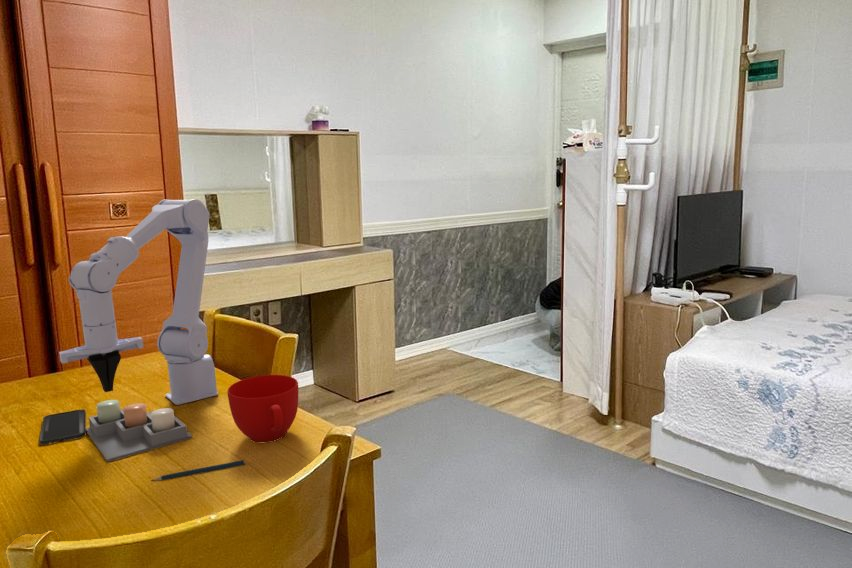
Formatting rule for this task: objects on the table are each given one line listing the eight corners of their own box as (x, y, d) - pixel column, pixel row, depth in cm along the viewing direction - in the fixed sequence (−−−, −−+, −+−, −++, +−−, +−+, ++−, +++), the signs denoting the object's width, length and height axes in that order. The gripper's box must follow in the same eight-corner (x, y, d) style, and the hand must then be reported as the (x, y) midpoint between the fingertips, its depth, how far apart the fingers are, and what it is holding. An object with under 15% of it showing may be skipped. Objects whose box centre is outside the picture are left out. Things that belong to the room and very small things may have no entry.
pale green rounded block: (118, 413, 133) (116, 398, 132) (123, 419, 129) (121, 403, 129) (96, 419, 130) (94, 403, 130) (101, 425, 127) (99, 408, 126)
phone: (85, 408, 141) (84, 433, 127) (86, 413, 141) (85, 438, 128) (43, 415, 137) (38, 442, 124) (43, 421, 137) (39, 447, 124)
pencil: (244, 466, 113) (151, 484, 108) (244, 464, 114) (151, 481, 109) (244, 461, 113) (150, 479, 108) (243, 459, 114) (150, 476, 109)
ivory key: (171, 422, 128) (169, 406, 127) (178, 428, 125) (176, 412, 124) (150, 428, 125) (148, 411, 125) (156, 434, 122) (154, 418, 122)
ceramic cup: (245, 465, 113) (240, 410, 111) (226, 431, 128) (221, 382, 126) (317, 448, 119) (313, 395, 117) (291, 417, 134) (287, 370, 132)
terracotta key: (144, 417, 130) (142, 401, 129) (150, 423, 127) (148, 407, 126) (122, 422, 128) (120, 406, 127) (128, 429, 125) (126, 412, 124)
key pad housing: (163, 410, 139) (161, 399, 139) (192, 438, 125) (190, 425, 125) (85, 430, 130) (83, 418, 130) (107, 462, 116) (105, 448, 116)
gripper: (60, 334, 118) (71, 405, 121) (144, 319, 127) (152, 386, 130) (53, 327, 124) (63, 395, 126) (134, 313, 133) (142, 377, 135)
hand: (108, 390), depth 128 cm, fingers closed
